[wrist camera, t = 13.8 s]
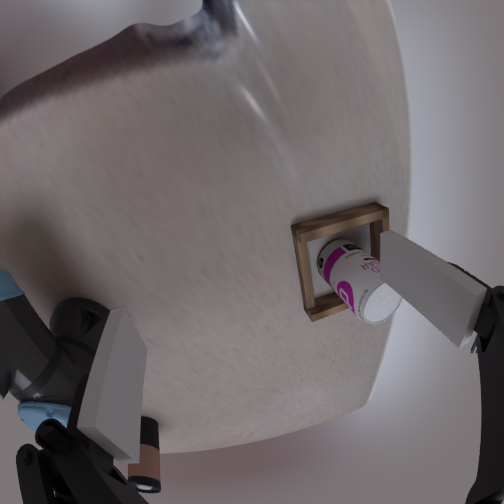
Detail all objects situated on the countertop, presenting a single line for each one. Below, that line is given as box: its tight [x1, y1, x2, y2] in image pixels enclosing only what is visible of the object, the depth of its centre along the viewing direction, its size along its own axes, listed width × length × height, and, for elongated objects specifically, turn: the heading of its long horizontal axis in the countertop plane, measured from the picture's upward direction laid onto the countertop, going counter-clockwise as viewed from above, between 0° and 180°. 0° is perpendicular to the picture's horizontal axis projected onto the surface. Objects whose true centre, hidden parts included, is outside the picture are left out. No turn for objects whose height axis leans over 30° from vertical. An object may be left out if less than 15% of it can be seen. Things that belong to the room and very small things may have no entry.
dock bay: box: [291, 203, 389, 322], centre depth 46 cm, size 16×17×4 cm
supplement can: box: [318, 239, 403, 324], centre depth 41 cm, size 8×8×15 cm
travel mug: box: [128, 417, 161, 493], centre depth 47 cm, size 8×8×20 cm
